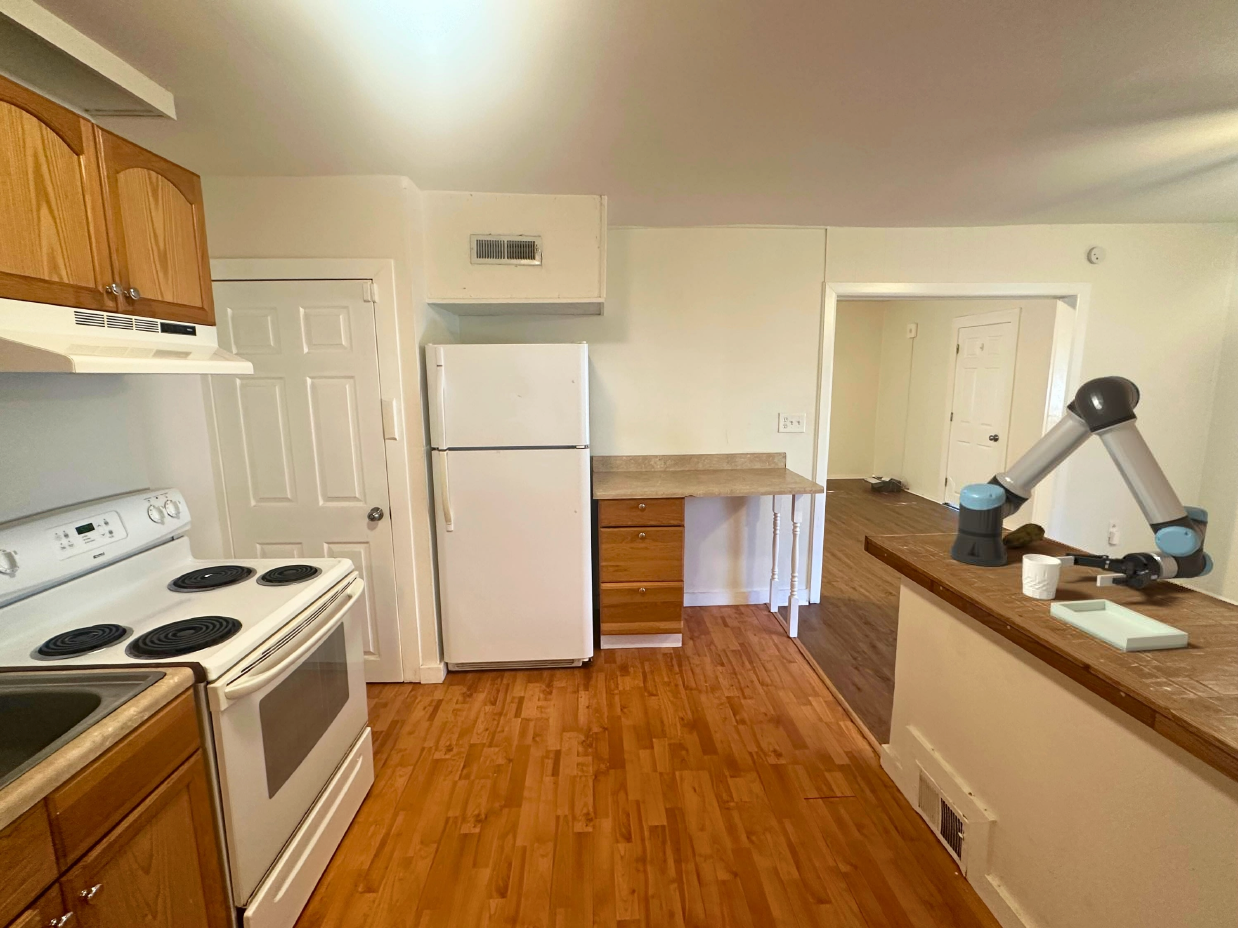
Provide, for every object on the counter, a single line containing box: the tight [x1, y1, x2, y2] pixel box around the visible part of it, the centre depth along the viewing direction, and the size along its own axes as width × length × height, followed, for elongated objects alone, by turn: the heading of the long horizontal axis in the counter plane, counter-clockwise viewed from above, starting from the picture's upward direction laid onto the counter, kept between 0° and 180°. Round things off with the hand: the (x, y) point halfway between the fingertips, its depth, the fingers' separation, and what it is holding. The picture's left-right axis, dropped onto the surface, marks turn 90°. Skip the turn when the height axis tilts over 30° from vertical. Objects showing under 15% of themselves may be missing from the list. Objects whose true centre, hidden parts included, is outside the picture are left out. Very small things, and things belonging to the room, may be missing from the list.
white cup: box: [1021, 553, 1061, 601], centre depth 139 cm, size 8×8×10 cm
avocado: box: [1002, 522, 1046, 549], centre depth 176 cm, size 8×13×8 cm, turn 77°
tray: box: [1049, 598, 1189, 653], centre depth 120 cm, size 18×14×3 cm
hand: (1073, 571), depth 139 cm, fingers open, 13 cm apart
